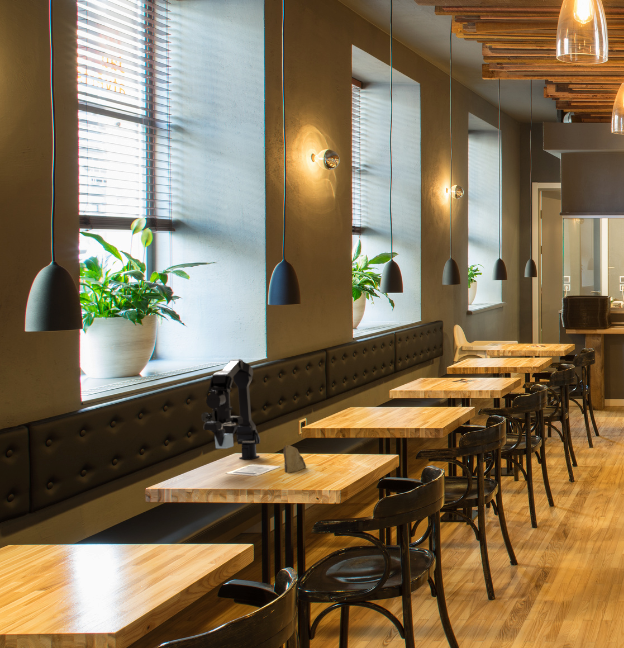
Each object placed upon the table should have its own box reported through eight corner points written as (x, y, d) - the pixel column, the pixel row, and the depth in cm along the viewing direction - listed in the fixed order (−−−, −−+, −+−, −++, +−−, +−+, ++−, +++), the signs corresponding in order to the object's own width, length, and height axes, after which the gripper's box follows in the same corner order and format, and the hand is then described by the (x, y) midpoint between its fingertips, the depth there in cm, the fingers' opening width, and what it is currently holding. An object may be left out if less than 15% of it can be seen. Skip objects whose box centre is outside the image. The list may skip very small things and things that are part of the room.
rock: (303, 460, 322) (279, 459, 319) (308, 444, 317) (284, 443, 314) (308, 480, 313) (283, 479, 310) (314, 465, 309) (289, 464, 305)
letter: (251, 464, 328) (251, 464, 328) (280, 466, 321) (280, 466, 321) (225, 473, 312) (225, 473, 312) (256, 476, 305) (256, 475, 305)
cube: (223, 446, 318) (222, 433, 318) (233, 446, 315) (232, 433, 315) (215, 448, 313) (214, 435, 313) (226, 448, 311) (225, 435, 311)
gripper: (220, 401, 326) (221, 439, 326) (191, 407, 310) (193, 448, 310) (242, 402, 320) (244, 441, 321) (214, 408, 304) (216, 449, 305)
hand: (224, 444), depth 314 cm, fingers closed on cube, 5 cm apart
